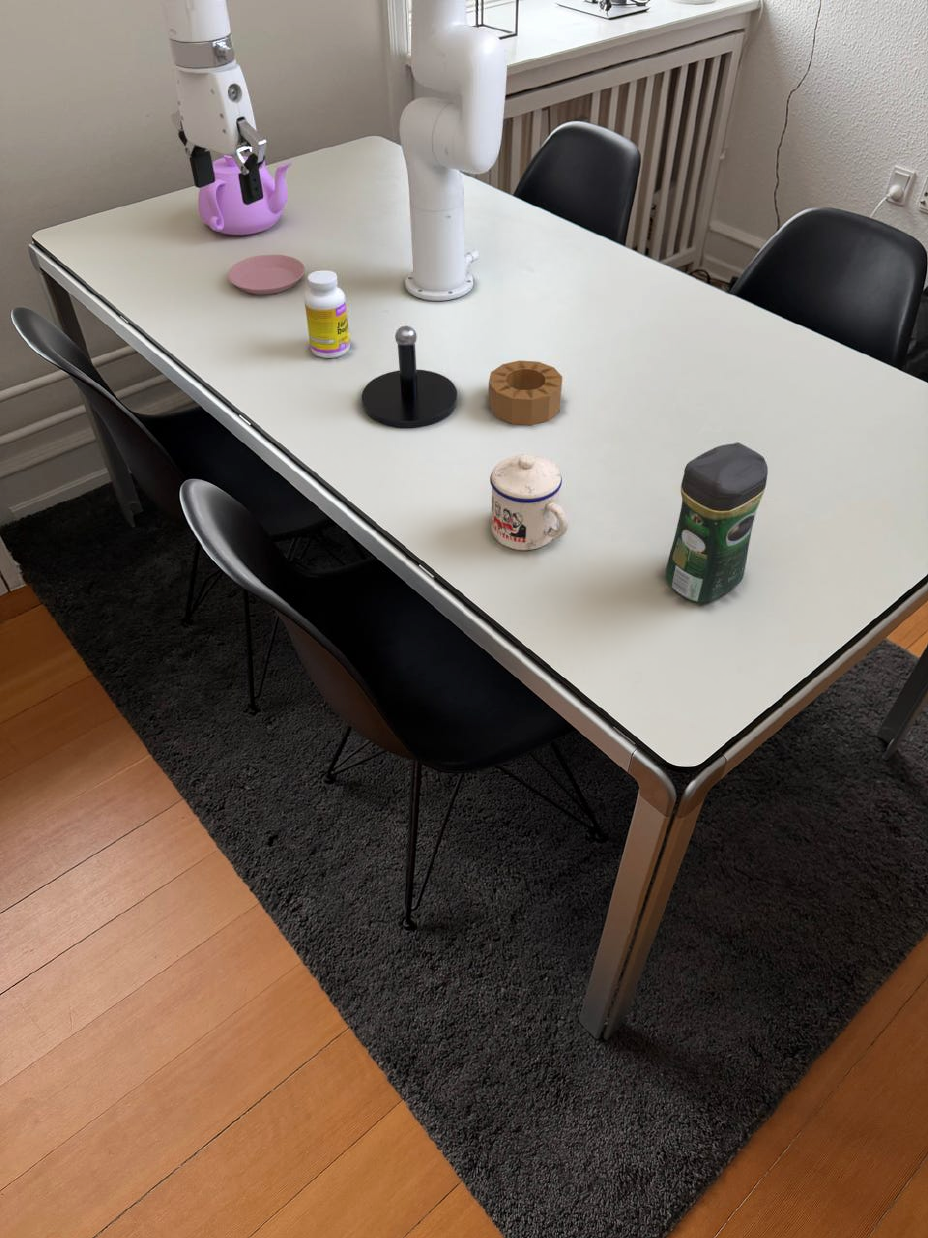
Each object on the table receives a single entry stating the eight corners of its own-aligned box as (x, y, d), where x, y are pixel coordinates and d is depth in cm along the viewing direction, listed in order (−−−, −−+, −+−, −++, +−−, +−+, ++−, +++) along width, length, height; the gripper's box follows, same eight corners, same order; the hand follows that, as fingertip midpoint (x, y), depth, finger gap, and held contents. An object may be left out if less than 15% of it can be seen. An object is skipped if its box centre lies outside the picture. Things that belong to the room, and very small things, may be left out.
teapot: (275, 254, 186) (263, 182, 176) (180, 239, 191) (163, 168, 181) (324, 211, 200) (316, 141, 190) (235, 198, 206) (222, 130, 196)
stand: (404, 365, 156) (400, 293, 147) (476, 395, 149) (476, 322, 140) (342, 406, 147) (333, 332, 138) (415, 439, 141) (411, 364, 132)
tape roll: (516, 378, 152) (517, 353, 149) (573, 400, 148) (575, 375, 144) (475, 408, 146) (475, 383, 143) (533, 433, 142) (534, 407, 138)
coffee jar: (704, 548, 123) (730, 427, 110) (751, 580, 118) (785, 458, 105) (651, 579, 119) (673, 458, 106) (699, 614, 114) (727, 492, 101)
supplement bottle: (344, 361, 157) (335, 287, 148) (306, 357, 158) (295, 284, 149) (355, 341, 161) (347, 268, 152) (318, 337, 162) (308, 265, 153)
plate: (285, 304, 171) (283, 293, 170) (215, 293, 175) (213, 282, 173) (318, 269, 181) (317, 259, 179) (251, 260, 184) (250, 250, 183)
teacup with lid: (475, 528, 126) (475, 456, 118) (525, 500, 130) (528, 429, 122) (538, 574, 120) (542, 501, 111) (587, 542, 124) (595, 470, 116)
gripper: (273, 56, 115) (293, 199, 127) (181, 33, 123) (208, 170, 135) (226, 71, 111) (251, 217, 123) (134, 46, 119) (166, 186, 131)
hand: (229, 192), depth 129 cm, fingers open, 9 cm apart
